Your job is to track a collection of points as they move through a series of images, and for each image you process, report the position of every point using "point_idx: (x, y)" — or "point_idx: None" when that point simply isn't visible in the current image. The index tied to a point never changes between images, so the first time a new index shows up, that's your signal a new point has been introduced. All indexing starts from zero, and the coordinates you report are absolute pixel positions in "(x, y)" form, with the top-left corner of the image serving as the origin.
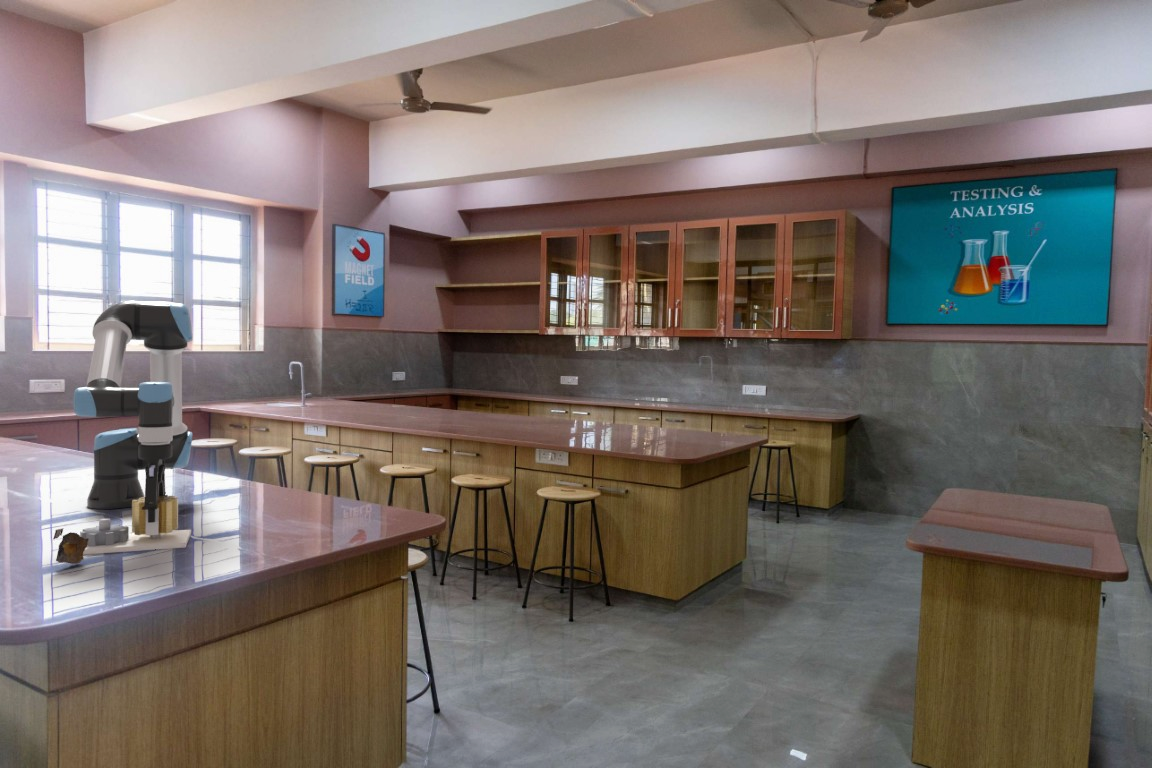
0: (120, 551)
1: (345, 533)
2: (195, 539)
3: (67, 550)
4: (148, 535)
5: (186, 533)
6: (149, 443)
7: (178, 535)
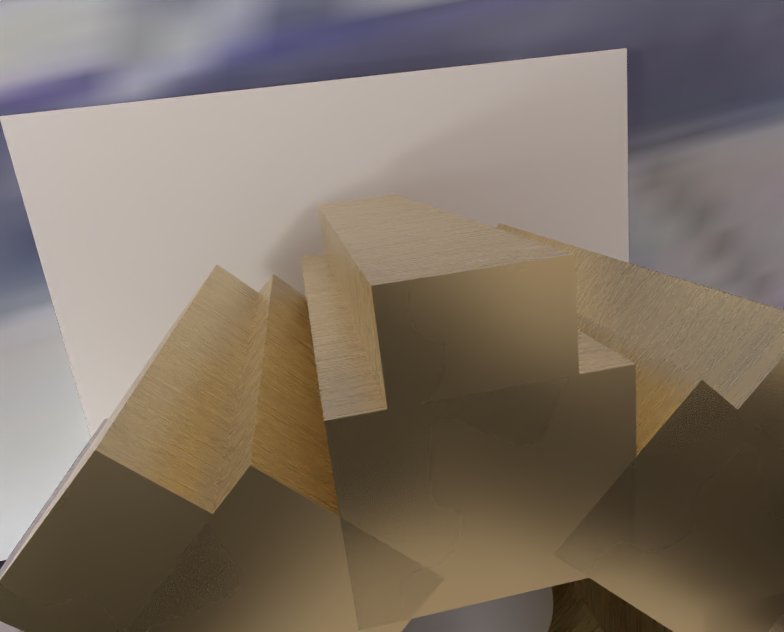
0: None
1: None
2: (288, 17)
3: None
4: None
5: (214, 127)
6: None
7: (303, 194)
